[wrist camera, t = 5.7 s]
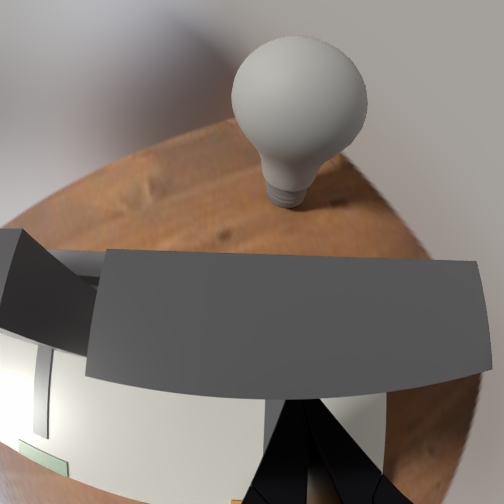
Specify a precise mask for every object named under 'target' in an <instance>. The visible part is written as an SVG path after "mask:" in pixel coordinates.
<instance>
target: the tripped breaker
mask: <svg viewBox="0 0 504 504" xmlns="http://www.w3.org/2000/svg"><path fill="white" fill-rule="evenodd" d="M491 369H492V354H491V343H490V333H489V325H488V317H487V311H486V305H485V299H484V294H483V288H482V283H481V279H480V274H479V270H478V265H477V262H476V261H453V260H452V261H451V260H420V259H388V258H357V257H326V256H296V255H266V254H237V253H208V252H179V251H151V250H124V249H107V250H106V254H105V258H104V262H103V267H102V271H101V275H100V280H99V285H98V290H97V295H96V300H95V305H94V311H93V317H92V323H91V329H90V336H89V344H88V352H87V360H86V370H85V376H87V377H91V378H95V379H99V380H104V381H108V382H113V383H118V384H122V385H128V386H133V387H139V388H144V389H150V390H157V391H164V392H171V393H179V394H187V395H197V396H207V397H220V398H236V399H264V400H293V399H322V398H337V397H350V396H360V395H369V394H378V393H385V392H392V391H399V390H405V389H411V388H417V387H422V386H427V385H432V384H437V383H442V382H446V381H450V380H455V379H459V378H463V377H467V376H470V375H474V374H478V373H481V372H485V371H488V370H491Z"/></svg>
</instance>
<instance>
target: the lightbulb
mask: <svg viewBox="0 0 504 504" xmlns="http://www.w3.org/2000/svg"><path fill="white" fill-rule="evenodd" d="M367 105H368V102H367V93H366V86H365V84H364V81H363V79H362V76H361V74H360V73H359V71H358V69H357V68H356V66H355V65H354V63H353V62H352V61H351V59H350V58H348V57H347V56H346V55H345V54H344V53H343V52H341V51H340V50H339V49H338V48H336V47H334V46H332V45H330V44H328V43H327V42H324V41H322V40H320V39H316V38H312V37H307V36H289V37H283V38H278V39H275V40H272V41H270V42H268V43H265V44H263V45H261V46H260V47H259V48H257V49H256V50H255V51H254V52H252V53H251V54H250V55H249V56H248V57H247V58H246V60H245V61H244V62H243V63H242V64H241V66H240V68H239V69H238V72H237V74H236V77H235V79H234V84H233V89H232V107H233V111H234V114H235V117H236V120H237V123H238V125H239V126H240V128H241V130H242V131H243V133H244V134H245V135H246V137H247V138H248V140H249V141H250V142H251V143H252V145H253V146H254V147H255V148H256V149H257V150H258V152H259V154H260V157H261V161H262V172H263V175H264V177H265V182H266V194H267V197H268V199H269V200H270V201H271V202H272V203H273V204H275V205H276V206H279V207H282V208H293V207H296V206H298V205H299V204H301V203H302V201H303V200H304V198H305V196H306V193H307V190H308V187H309V186H310V185H311V184H312V183H313V181H314V180H315V177H316V175H317V172H318V170H319V169H320V167H321V166H322V165H323V164H324V163H325V162H326V161H328V160H329V159H331V158H333V157H334V156H335V155H337V154H338V153H339V152H341V151H342V150H344V149H345V148H346V147H347V146H349V145H350V144H351V143H352V141H353V140H354V139H355V137H356V136H357V135H358V133H359V132H360V130H361V129H362V127H363V124H364V121H365V118H366V114H367Z"/></svg>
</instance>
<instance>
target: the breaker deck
mask: <svg viewBox="0 0 504 504" xmlns="http://www.w3.org/2000/svg"><path fill="white" fill-rule="evenodd" d="M46 250H47V251H48V252H49V253H51V254H52V255H53V256H54V257H55V258H56V259H58V260H59V261H60V262H61V263H62V264H64V265H65V266H66V267H67V268H69V269H70V270H71V271H72V272H74V273H75V274H76V275H77V276H79V277H80V278H81V279H83V280H84V281H85V282H87V283H88V284H89V285H90V286H92V287H93V288H94V289H96V290H98V285H99V280H100V275H101V271H102V267H103V262H104V258H105V254H106V252H98V251H74V250H51V249H46ZM86 360H87V358H85V357H81V356H77V355H72V354H68V353H64V352H60V351H57V350H53V349H49V348H46V347H42V346H39V345H35V344H32V343H29V342H25V341H22V340H19V339H16V338H13V337H10V336H7V335H4V334H1V333H0V441H1V442H3V443H4V444H6V445H8V446H9V447H11V448H13V449H14V450H16V451H18V452H19V453H20V454H22V455H23V456H25V457H27V458H29V459H31V460H33V461H34V462H36V463H38V464H40V465H42V466H44V467H46V468H48V469H50V470H53V471H55V472H57V473H59V474H61V475H63V476H66V477H70V478H72V479H75V480H77V481H79V482H82V483H85V484H87V485H90V486H93V487H95V488H98V489H101V490H104V491H107V492H110V493H113V494H116V495H120V496H123V497H127V498H130V499H134V500H138V501H142V502H146V503H150V504H241V502H242V500H243V498H244V496H245V494H246V492H247V490H248V488H249V486H250V484H251V482H252V480H253V477H254V475H255V473H256V471H257V468H258V466H259V464H260V461H261V459H262V457H263V454H264V452H265V450H266V447H267V445H268V442H269V440H270V438H271V435H272V433H273V430H274V428H275V425H276V423H277V420H278V417H279V415H280V412H281V410H282V407H283V404H284V402H285V400H264V399H236V398H220V397H207V396H197V395H187V394H179V393H171V392H164V391H157V390H150V389H144V388H139V387H133V386H128V385H122V384H118V383H113V382H108V381H104V380H99V379H95V378H91V377H87V376H85V370H86ZM321 401H322V402H323V403H324V404H325V406H326V407H327V408H328V409H329V410H330V412H331V413H332V414H333V415H334V417H335V418H336V419H337V420H338V421H339V423H340V424H341V425H342V426H343V427H344V429H345V430H346V431H347V432H348V433H349V434H350V436H351V437H352V438H353V439H354V440H355V442H356V443H357V444H358V445H359V446H360V447H361V449H362V450H363V451H364V452H365V453H366V454H367V456H368V457H369V458H370V459H371V460H372V461H373V462H374V464H375V465H376V466H377V467H378V468H379V469H380V470H381V472H383V462H384V449H385V432H386V392H385V393H378V394H369V395H360V396H350V397H337V398H322V399H321Z"/></svg>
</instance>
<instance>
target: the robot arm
mask: <svg viewBox="0 0 504 504" xmlns="http://www.w3.org/2000/svg"><path fill="white" fill-rule="evenodd" d="M241 504H413V503H412V502H411V501H410V500H409V499H408V498H406V497H405V496H404V495H403V494H402V493H401V492H400V491H399V490H398V489H397V488H396V487H395V486H394V485H393V484H392V483H391V482H390V481H389V479H388V478H387V477H386V476H385V475H384V474H382V472H381V470H380V469H379V468H378V467H377V466H376V465H375V464H374V462H373V461H372V460H371V459H370V458H369V457H368V456H367V454H366V453H365V452H364V451H363V450H362V449H361V447H360V446H359V445H358V444H357V443H356V442H355V440H354V439H353V438H352V437H351V436H350V434H349V433H348V432H347V431H346V430H345V429H344V427H343V426H342V425H341V424H340V423H339V421H338V420H337V419H336V418H335V417H334V415H333V414H332V413H331V412H330V410H329V409H328V408H327V407H326V406H325V404H324V403H323V402H322V401H321V399H293V400H285V402H284V404H283V407H282V410H281V412H280V415H279V417H278V420H277V423H276V425H275V428H274V430H273V433H272V435H271V438H270V440H269V442H268V445H267V447H266V450H265V452H264V454H263V457H262V459H261V461H260V464H259V466H258V468H257V471H256V473H255V475H254V477H253V480H252V482H251V484H250V486H249V488H248V490H247V492H246V494H245V496H244V498H243V500H242V502H241Z"/></svg>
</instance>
